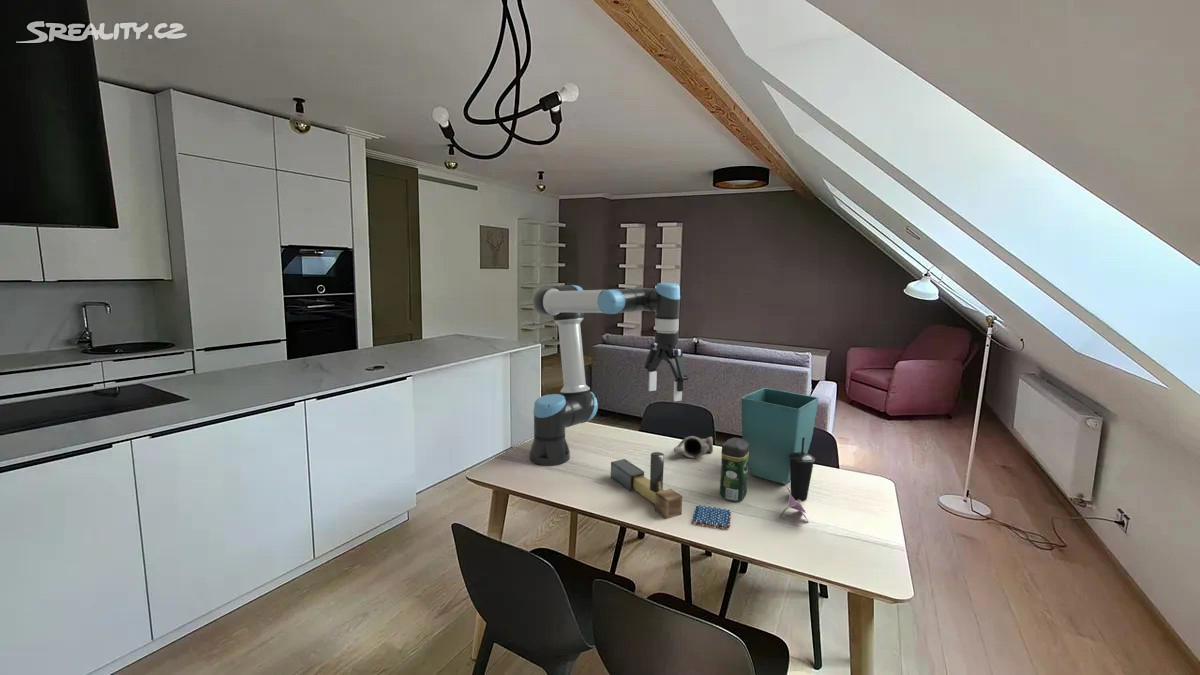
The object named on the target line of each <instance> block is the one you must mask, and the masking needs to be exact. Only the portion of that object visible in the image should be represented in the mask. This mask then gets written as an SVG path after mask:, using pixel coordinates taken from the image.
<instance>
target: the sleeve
mask: <svg viewBox="0 0 1200 675" xmlns="http://www.w3.org/2000/svg"><path fill="white" fill-rule="evenodd" d="M640 474H641V475H642V476H644V477H645V471H644V470H642V469H641V468H640V467H638V466H636V465H635V464H633V463H632V462H630V461H629V460H628V459H626V458H623V459H617V460H613V461H610V479H612V480H613V481H614V482H616V484H619V486H621V487H622V488H624V489H625V490H627V491H628V492H630V493H631V492H634V491H636V490H635V489H633V488H632V487H631V482H632V476H635V475H640Z"/></svg>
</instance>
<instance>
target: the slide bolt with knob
mask: <svg viewBox="0 0 1200 675" xmlns="http://www.w3.org/2000/svg"><path fill="white" fill-rule="evenodd" d="M664 463H665V454H664V453H663V452H660V451H655V452H651V453H650V468H649V471H650V472H649V475H650V476H649V479H648V478H647V477H645V475H644V476H642V475H641V474H640V475H635V476H632V482H631V487H632V488H633V489H635V491H636V492H637V493H639V494H641V495H642V496H643V497H645V498H646V499H647V500H648V501H650V502H652V503H653V504H654V505H655V500H656V492H660V491H663V490H665V489H664V468H665V467H664V466H665V464H664Z"/></svg>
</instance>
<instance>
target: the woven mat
mask: <svg viewBox="0 0 1200 675" xmlns="http://www.w3.org/2000/svg"><path fill="white" fill-rule="evenodd" d="M731 513H732V512H731V510H730V509H726V508H720V507H716V506H715V507H712V506H706V505H701V504H699V505H695V508H694V513H693V515H692V522H691V524H693V525H695V526H696V525H698V526H701V527H709V529H712V528H713V529H720V528H721V530H726V531H729V529H730V527H731V518H732V517H731V515H732V514H731Z"/></svg>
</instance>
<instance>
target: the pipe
mask: <svg viewBox="0 0 1200 675" xmlns="http://www.w3.org/2000/svg"><path fill="white" fill-rule="evenodd" d="M713 441H714V440H713V437H712V436H708V437H706V438H700V437H697V436H695V435H690V436H686V437H684V438H683V439H682V440H681V441H680V442H679V443H678V445H676V446H675V447H674V448H673V453H675V454H682V455H683V456H685V457H687V458H689V459H697V458H699V457H701V456H704V455H705V454H706V453H713V451H714V445H713V444H714V442H713Z"/></svg>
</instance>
